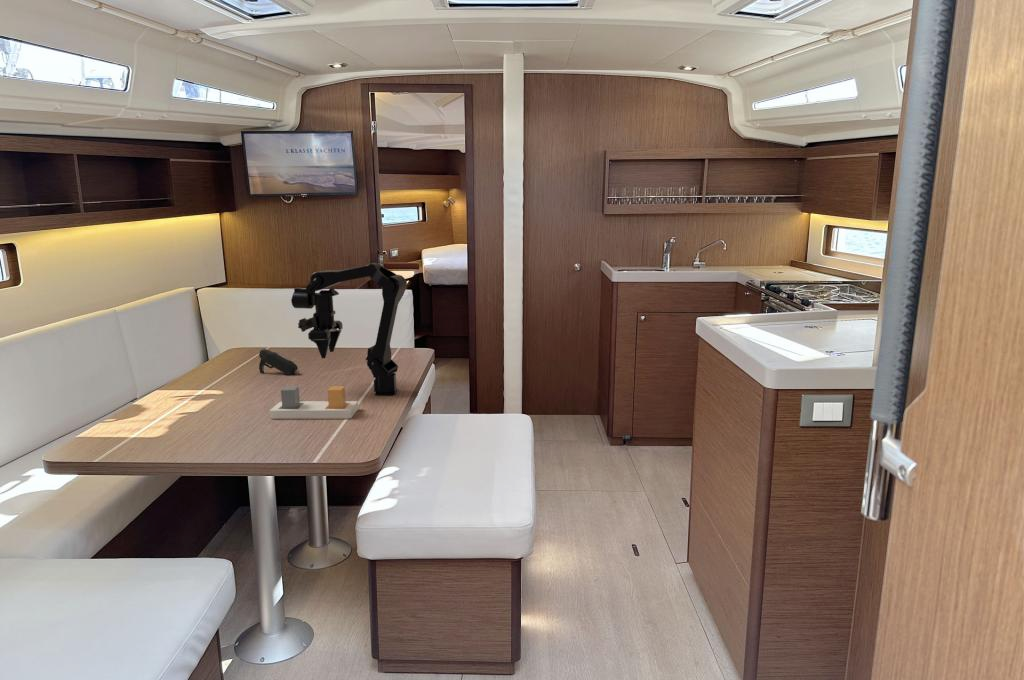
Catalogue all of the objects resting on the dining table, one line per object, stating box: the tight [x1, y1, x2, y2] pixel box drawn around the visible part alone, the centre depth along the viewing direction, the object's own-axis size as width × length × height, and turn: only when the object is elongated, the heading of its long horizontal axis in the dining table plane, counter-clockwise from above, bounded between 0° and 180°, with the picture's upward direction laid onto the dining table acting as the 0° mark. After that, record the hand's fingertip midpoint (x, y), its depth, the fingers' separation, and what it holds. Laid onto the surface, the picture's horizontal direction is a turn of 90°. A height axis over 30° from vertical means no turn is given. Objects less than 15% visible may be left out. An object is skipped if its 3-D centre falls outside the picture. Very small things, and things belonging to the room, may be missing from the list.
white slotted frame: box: [268, 400, 359, 420], centre depth 207 cm, size 24×9×2 cm, turn 88°
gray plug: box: [280, 385, 301, 409], centre depth 206 cm, size 4×4×8 cm
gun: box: [258, 348, 300, 377], centre depth 253 cm, size 3×16×10 cm, turn 79°
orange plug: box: [327, 385, 347, 409], centre depth 206 cm, size 4×4×8 cm
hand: (327, 355), depth 230 cm, fingers open, 9 cm apart
